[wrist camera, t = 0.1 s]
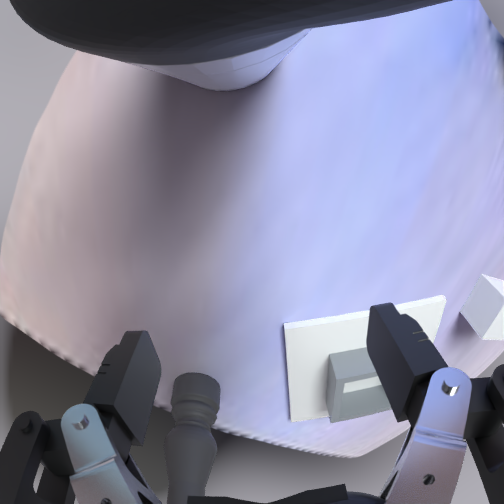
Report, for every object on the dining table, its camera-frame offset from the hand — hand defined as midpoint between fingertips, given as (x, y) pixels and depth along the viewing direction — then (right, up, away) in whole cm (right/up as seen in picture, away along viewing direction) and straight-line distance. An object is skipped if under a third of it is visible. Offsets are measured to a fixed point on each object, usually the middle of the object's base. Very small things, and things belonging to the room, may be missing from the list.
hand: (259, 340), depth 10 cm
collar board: (+14, -12, +26) cm, 32 cm away
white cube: (+31, -3, +22) cm, 38 cm away
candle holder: (-8, -15, +27) cm, 32 cm away
